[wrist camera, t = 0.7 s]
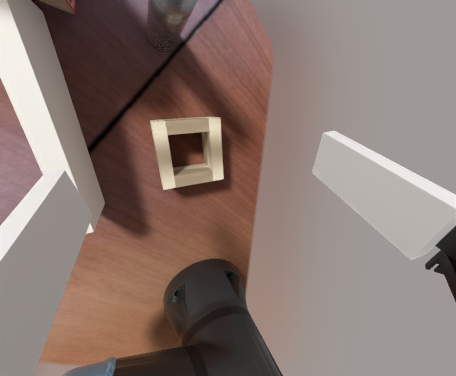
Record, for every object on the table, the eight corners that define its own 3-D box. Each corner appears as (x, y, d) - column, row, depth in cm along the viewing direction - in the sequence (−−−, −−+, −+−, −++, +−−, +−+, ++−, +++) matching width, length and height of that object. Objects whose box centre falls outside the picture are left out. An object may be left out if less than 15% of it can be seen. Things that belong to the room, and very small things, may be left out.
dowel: (178, 51, 23) (216, -10, 11) (149, 50, 22) (158, -20, 10) (174, 17, 22) (213, -94, 10) (144, 14, 21) (145, -115, 9)
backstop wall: (105, 203, 26) (93, 231, 20) (87, 206, 25) (70, 237, 19) (43, 12, 18) (-7, -37, 12) (15, 9, 17) (-53, -44, 11)
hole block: (214, 171, 30) (223, 179, 27) (161, 179, 28) (163, 189, 24) (210, 116, 27) (220, 117, 24) (149, 120, 24) (150, 122, 21)
